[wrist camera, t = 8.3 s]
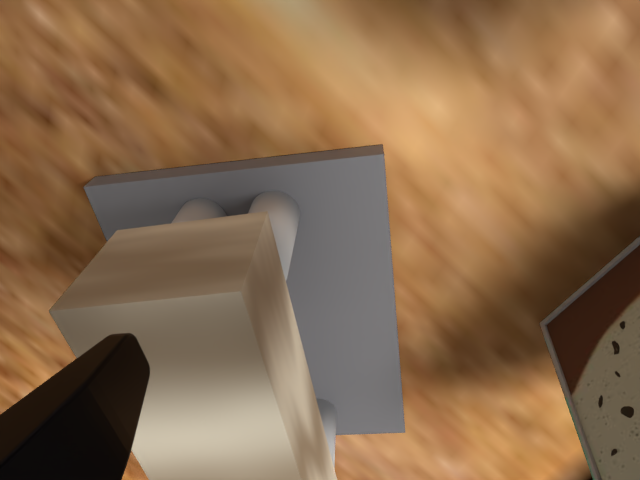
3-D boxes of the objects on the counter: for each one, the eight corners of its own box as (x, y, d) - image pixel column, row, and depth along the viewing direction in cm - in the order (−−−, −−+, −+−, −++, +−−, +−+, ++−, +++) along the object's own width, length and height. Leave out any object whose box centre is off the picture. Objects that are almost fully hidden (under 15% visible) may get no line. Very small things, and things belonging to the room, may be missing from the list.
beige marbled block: (343, 505, 23) (341, 604, 19) (243, 509, 23) (223, 604, 20) (267, 211, 15) (240, 291, 11) (116, 230, 15) (48, 310, 12)
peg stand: (382, 144, 18) (390, 203, 14) (403, 416, 27) (412, 506, 22) (94, 176, 20) (24, 238, 16) (198, 425, 28) (170, 510, 24)
